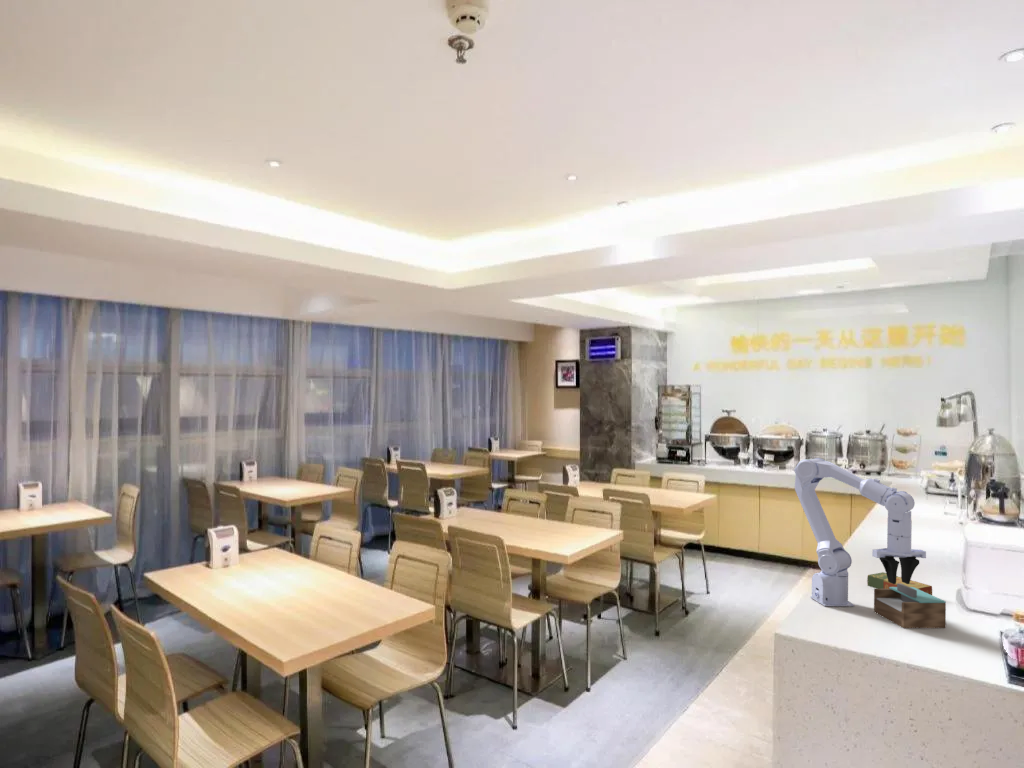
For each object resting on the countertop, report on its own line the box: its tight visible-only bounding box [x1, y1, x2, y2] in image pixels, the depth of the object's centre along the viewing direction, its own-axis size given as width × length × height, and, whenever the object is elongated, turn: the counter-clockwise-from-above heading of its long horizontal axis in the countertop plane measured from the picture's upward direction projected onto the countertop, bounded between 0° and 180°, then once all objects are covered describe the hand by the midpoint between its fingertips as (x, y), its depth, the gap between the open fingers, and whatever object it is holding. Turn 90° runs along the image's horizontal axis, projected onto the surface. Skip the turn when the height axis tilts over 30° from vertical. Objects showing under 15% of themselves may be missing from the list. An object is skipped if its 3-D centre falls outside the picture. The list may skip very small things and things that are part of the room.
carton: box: [866, 571, 933, 596], centre depth 191 cm, size 8×16×4 cm, turn 24°
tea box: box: [873, 588, 947, 629], centre depth 167 cm, size 12×12×7 cm
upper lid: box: [889, 583, 947, 603], centre depth 167 cm, size 7×12×2 cm, turn 3°
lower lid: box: [877, 594, 917, 612], centre depth 167 cm, size 7×10×2 cm
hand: (898, 582), depth 167 cm, fingers open, 3 cm apart
